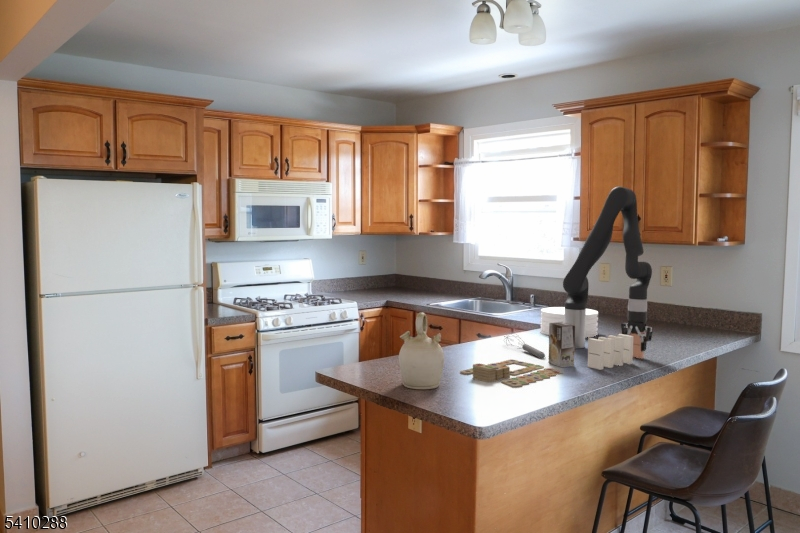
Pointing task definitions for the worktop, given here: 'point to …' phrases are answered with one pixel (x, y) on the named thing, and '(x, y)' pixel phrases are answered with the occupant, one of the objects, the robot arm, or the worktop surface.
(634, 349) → the rust tile
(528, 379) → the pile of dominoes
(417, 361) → the jug
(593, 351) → the ivory tile
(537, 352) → the kitchen whisk
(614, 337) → the ivory tile
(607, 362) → the ivory tile
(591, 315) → the plate stack
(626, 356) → the ivory tile
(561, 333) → the coffee box
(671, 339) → the worktop surface
